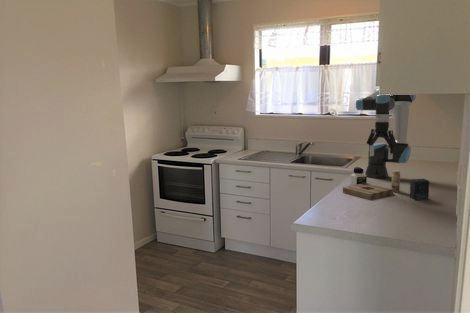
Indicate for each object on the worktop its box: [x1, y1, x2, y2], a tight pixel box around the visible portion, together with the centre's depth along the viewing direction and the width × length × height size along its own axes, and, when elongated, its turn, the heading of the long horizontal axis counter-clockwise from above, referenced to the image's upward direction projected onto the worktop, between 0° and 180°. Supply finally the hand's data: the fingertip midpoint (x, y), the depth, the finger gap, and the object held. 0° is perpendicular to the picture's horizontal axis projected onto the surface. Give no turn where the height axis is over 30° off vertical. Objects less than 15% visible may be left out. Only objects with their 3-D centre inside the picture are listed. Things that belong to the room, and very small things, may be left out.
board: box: [342, 182, 395, 200], centre depth 227 cm, size 20×20×3 cm
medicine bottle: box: [350, 166, 368, 186], centre depth 244 cm, size 7×7×12 cm
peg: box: [391, 170, 401, 193], centre depth 230 cm, size 4×4×12 cm
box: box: [409, 178, 430, 201], centre depth 213 cm, size 8×6×11 cm
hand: (380, 157), depth 229 cm, fingers open, 13 cm apart
